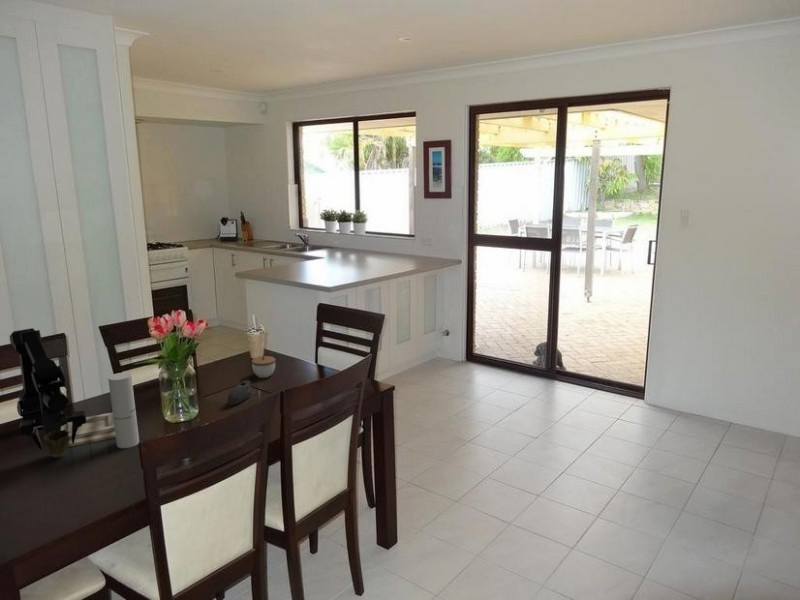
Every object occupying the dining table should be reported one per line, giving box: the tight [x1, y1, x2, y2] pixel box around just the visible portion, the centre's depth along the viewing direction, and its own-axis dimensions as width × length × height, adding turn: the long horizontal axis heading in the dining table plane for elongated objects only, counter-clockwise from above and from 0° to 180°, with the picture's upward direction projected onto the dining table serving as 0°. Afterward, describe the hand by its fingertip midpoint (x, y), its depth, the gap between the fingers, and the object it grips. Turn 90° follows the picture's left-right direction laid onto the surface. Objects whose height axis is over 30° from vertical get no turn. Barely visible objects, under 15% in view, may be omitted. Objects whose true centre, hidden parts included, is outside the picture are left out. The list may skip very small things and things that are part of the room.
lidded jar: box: [251, 355, 276, 379], centre depth 263 cm, size 11×11×9 cm
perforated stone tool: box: [227, 379, 252, 406], centre depth 234 cm, size 15×5×7 cm, turn 160°
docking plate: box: [61, 412, 116, 448], centre depth 209 cm, size 22×22×2 cm
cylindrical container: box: [107, 372, 140, 449], centre depth 196 cm, size 7×7×25 cm
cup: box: [42, 429, 69, 459], centre depth 189 cm, size 8×7×8 cm
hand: (57, 446), depth 189 cm, fingers open, 9 cm apart
